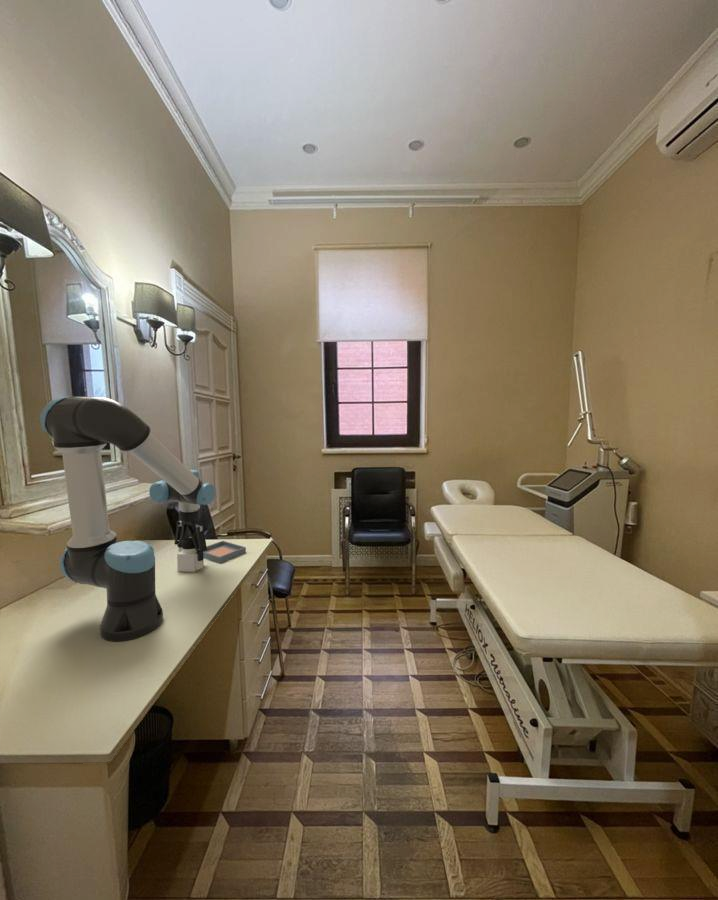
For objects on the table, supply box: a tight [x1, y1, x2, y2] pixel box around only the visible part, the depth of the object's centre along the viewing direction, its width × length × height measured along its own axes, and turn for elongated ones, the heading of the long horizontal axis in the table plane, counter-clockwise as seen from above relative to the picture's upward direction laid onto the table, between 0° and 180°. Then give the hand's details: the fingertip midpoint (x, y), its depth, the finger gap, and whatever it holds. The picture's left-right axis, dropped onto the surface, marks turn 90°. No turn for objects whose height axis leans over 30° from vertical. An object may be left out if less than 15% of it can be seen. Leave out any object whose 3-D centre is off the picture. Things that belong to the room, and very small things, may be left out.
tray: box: [203, 540, 247, 564], centre depth 156 cm, size 14×15×2 cm
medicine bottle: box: [176, 536, 205, 573], centre depth 141 cm, size 7×7×12 cm
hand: (190, 565), depth 142 cm, fingers closed on medicine bottle, 9 cm apart
